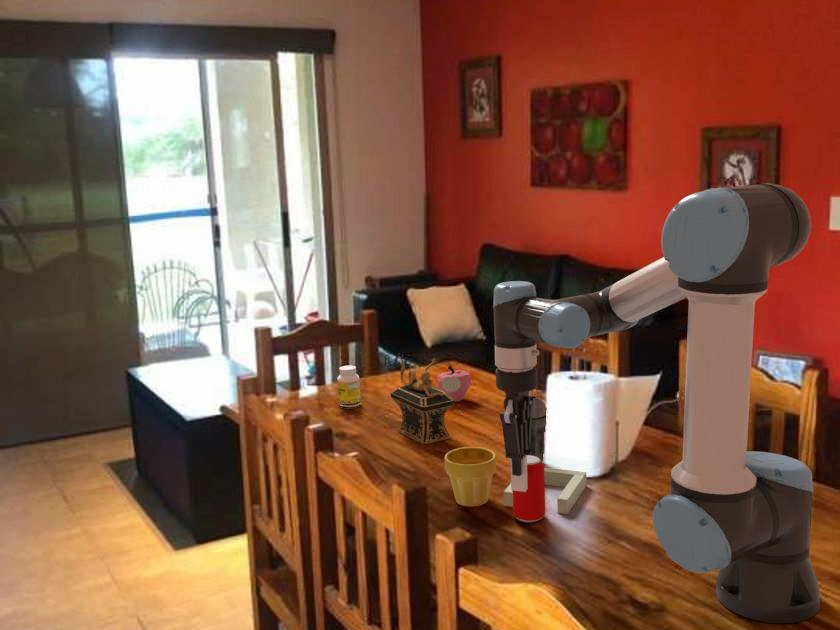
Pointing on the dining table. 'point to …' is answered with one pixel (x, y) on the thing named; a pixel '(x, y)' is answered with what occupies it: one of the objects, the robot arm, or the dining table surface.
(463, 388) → the apple
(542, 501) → the beverage can
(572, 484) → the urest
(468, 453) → the plant pot
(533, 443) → the beverage cup
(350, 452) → the dining table surface
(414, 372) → the decorative box
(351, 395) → the pill bottle
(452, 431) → the dining table surface
